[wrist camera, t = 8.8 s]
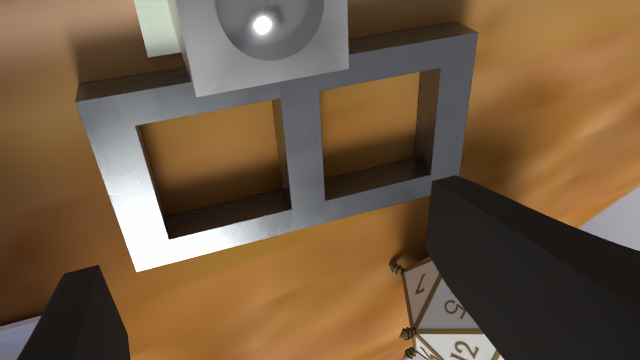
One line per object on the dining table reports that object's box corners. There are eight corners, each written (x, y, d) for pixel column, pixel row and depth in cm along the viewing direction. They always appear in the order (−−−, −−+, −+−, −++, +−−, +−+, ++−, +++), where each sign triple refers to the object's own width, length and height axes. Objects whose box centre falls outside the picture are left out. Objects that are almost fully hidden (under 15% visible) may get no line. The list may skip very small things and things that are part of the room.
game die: (432, 209, 32) (595, 284, 28) (373, 329, 31) (530, 422, 27) (407, 178, 24) (633, 276, 20) (328, 338, 23) (541, 473, 19)
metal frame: (135, 247, 21) (136, 271, 20) (78, 83, 17) (75, 102, 16) (440, 171, 25) (457, 188, 24) (456, 21, 21) (478, 32, 20)
